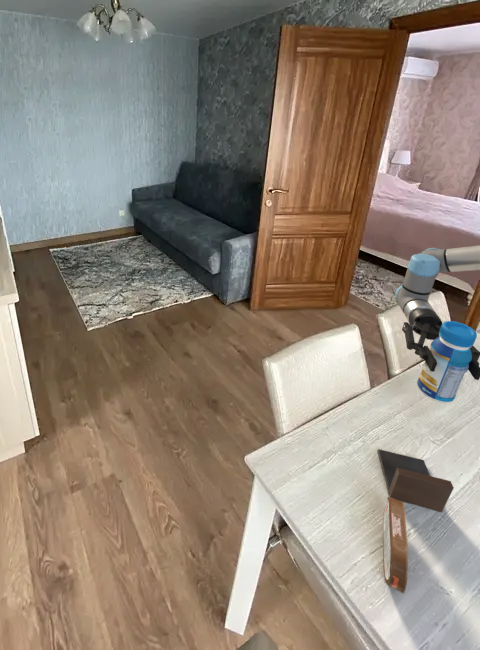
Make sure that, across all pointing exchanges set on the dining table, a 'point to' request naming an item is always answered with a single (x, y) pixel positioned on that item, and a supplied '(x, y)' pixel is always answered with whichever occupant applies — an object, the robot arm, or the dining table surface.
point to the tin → (395, 545)
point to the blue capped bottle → (448, 362)
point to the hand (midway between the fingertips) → (455, 371)
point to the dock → (413, 481)
